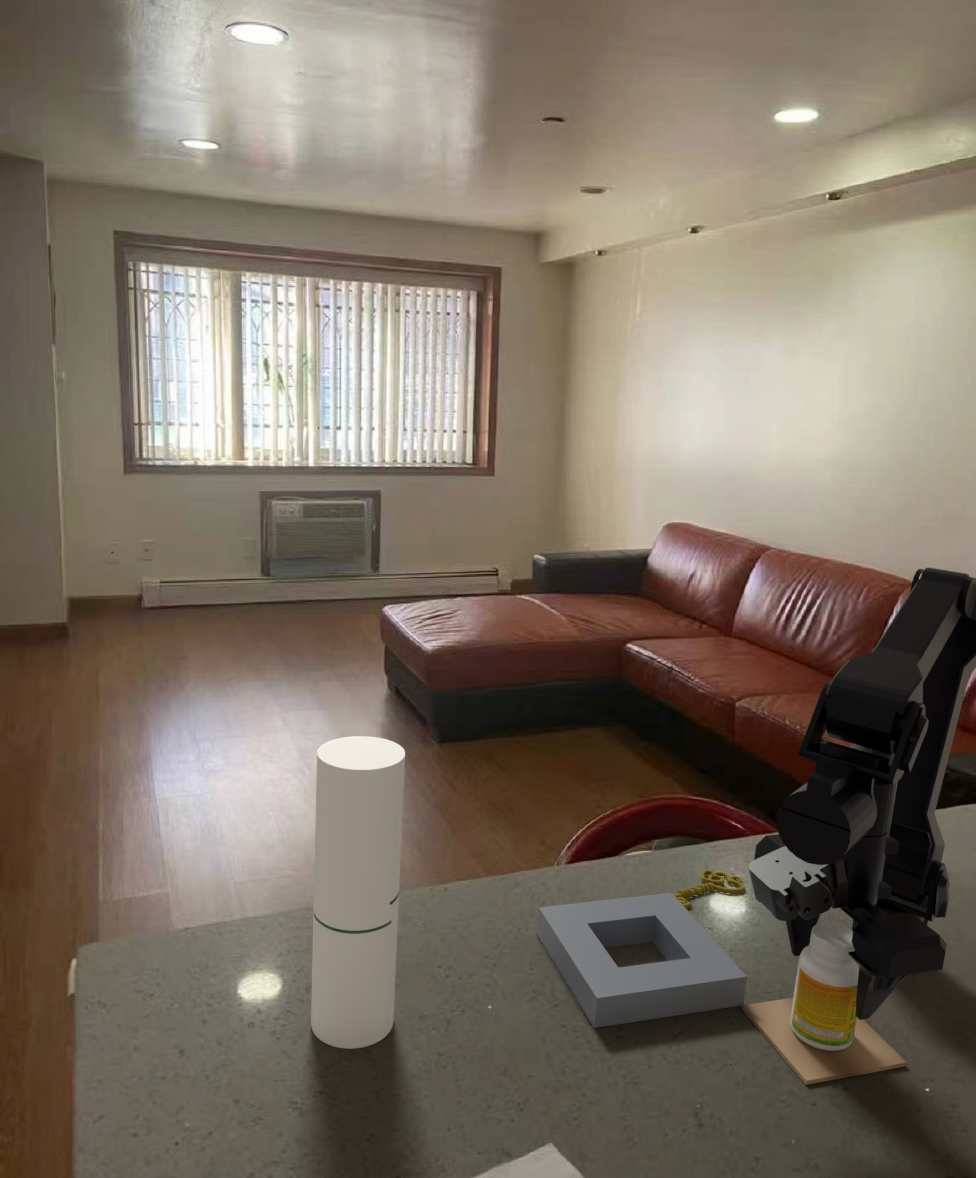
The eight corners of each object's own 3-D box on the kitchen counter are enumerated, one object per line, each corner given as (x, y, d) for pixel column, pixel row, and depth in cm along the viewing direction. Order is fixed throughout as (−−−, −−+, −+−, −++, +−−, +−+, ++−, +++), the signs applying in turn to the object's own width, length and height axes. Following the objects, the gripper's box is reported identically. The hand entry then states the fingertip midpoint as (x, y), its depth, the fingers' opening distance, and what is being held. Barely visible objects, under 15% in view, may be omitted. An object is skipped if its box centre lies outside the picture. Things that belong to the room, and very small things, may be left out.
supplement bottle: (857, 1058, 84) (874, 957, 82) (792, 1046, 85) (807, 946, 83) (848, 1019, 90) (863, 923, 87) (787, 1008, 91) (800, 913, 88)
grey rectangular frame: (668, 917, 105) (671, 892, 105) (743, 1004, 91) (747, 976, 91) (536, 933, 101) (538, 907, 100) (594, 1027, 87) (596, 997, 86)
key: (676, 905, 106) (646, 884, 110) (675, 916, 106) (645, 894, 110) (755, 883, 112) (724, 863, 116) (753, 893, 112) (722, 873, 117)
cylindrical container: (406, 1007, 88) (418, 745, 83) (371, 1057, 81) (382, 776, 76) (335, 987, 90) (342, 730, 85) (295, 1034, 84) (300, 759, 78)
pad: (833, 994, 94) (834, 991, 94) (905, 1066, 84) (906, 1062, 84) (741, 1009, 91) (741, 1005, 91) (805, 1084, 81) (806, 1080, 81)
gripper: (713, 782, 89) (695, 936, 93) (842, 887, 72) (813, 1072, 75) (818, 773, 93) (796, 923, 96) (965, 872, 75) (933, 1050, 79)
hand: (828, 984), depth 86 cm, fingers open, 9 cm apart
